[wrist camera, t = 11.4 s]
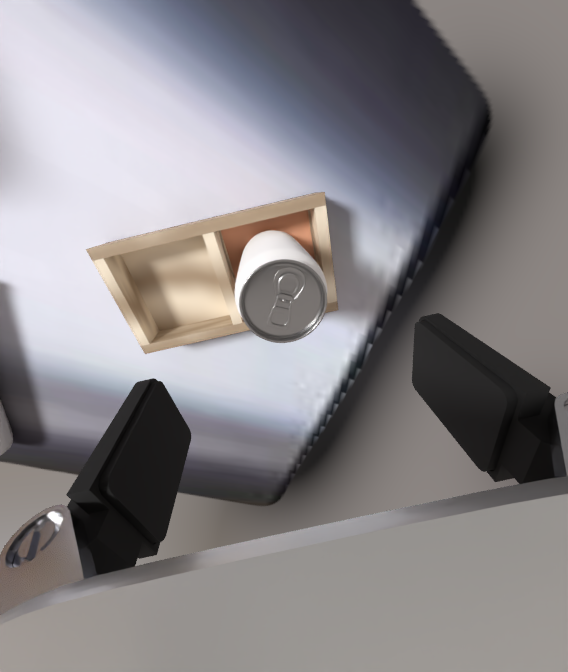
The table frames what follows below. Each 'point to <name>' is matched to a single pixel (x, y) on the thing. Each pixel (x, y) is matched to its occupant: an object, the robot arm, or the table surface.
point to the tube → (4, 431)
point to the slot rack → (203, 270)
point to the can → (279, 288)
